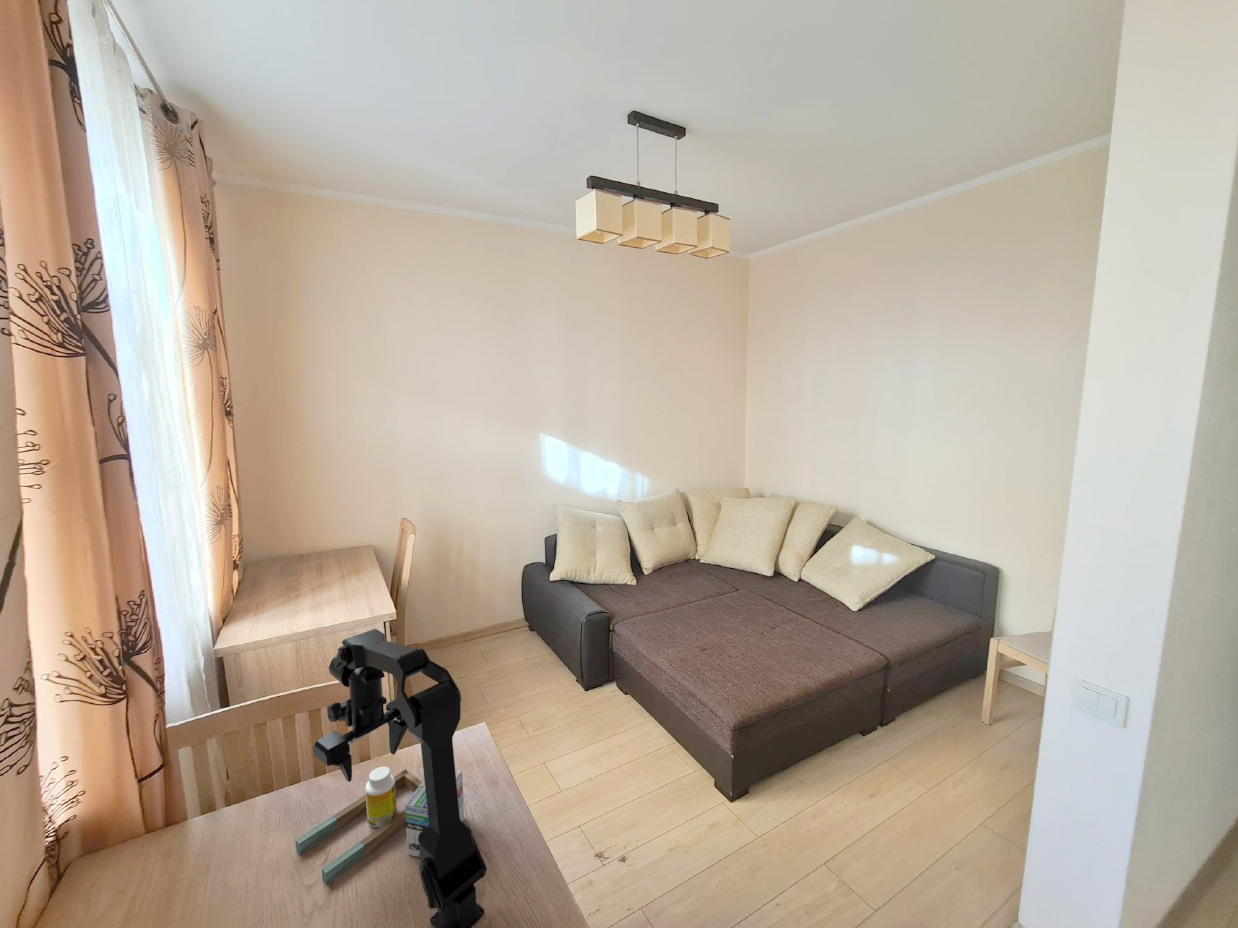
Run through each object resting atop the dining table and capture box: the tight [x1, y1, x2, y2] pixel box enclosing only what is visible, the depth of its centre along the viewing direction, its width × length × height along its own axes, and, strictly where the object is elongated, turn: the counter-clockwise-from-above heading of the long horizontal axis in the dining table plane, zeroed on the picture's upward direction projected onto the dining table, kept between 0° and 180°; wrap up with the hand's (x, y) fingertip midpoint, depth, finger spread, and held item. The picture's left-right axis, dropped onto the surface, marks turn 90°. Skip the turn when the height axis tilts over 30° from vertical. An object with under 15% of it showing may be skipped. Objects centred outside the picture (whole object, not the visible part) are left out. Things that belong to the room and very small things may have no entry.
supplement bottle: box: [364, 766, 398, 828], centre depth 107 cm, size 6×6×10 cm
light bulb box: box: [404, 770, 465, 858], centre depth 102 cm, size 11×7×11 cm, turn 168°
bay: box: [295, 769, 423, 886], centre depth 105 cm, size 12×23×2 cm, turn 144°
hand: (371, 766), depth 104 cm, fingers open, 9 cm apart
